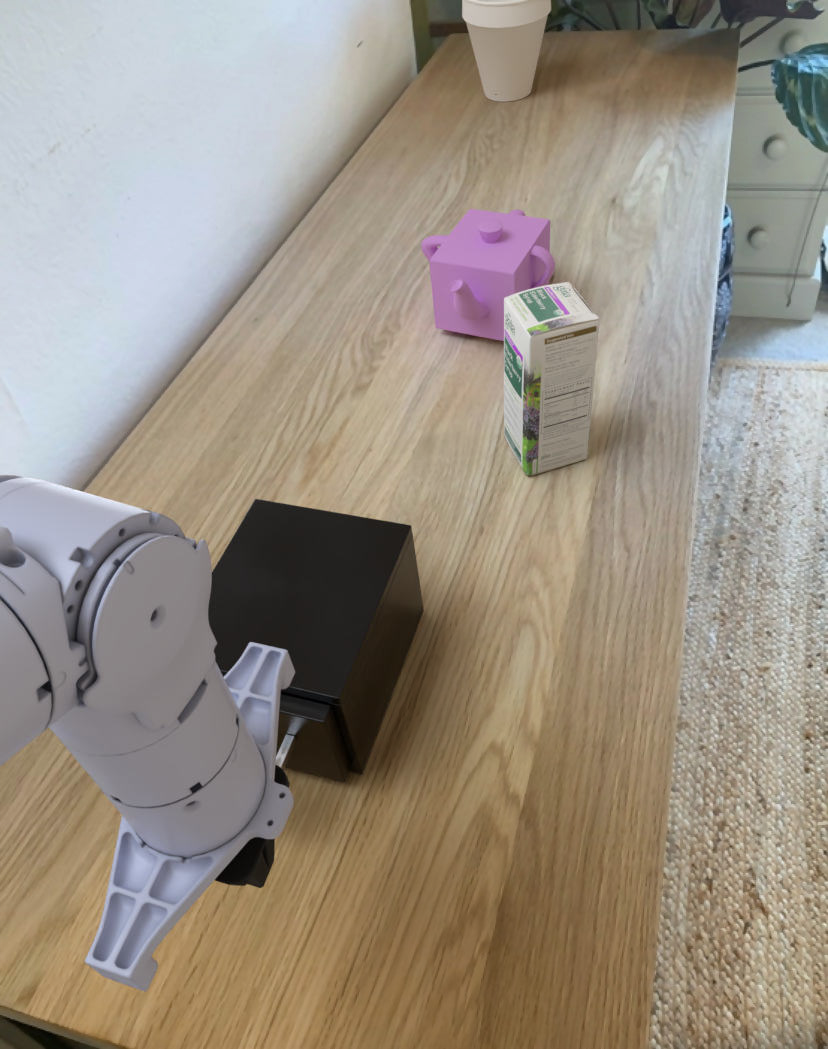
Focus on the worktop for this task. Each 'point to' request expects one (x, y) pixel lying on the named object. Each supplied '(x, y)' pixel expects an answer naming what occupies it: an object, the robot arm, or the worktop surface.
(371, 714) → the cabinet
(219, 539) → the worktop surface
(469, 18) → the cup
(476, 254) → the teapot
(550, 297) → the syrup box
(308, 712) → the drawer
